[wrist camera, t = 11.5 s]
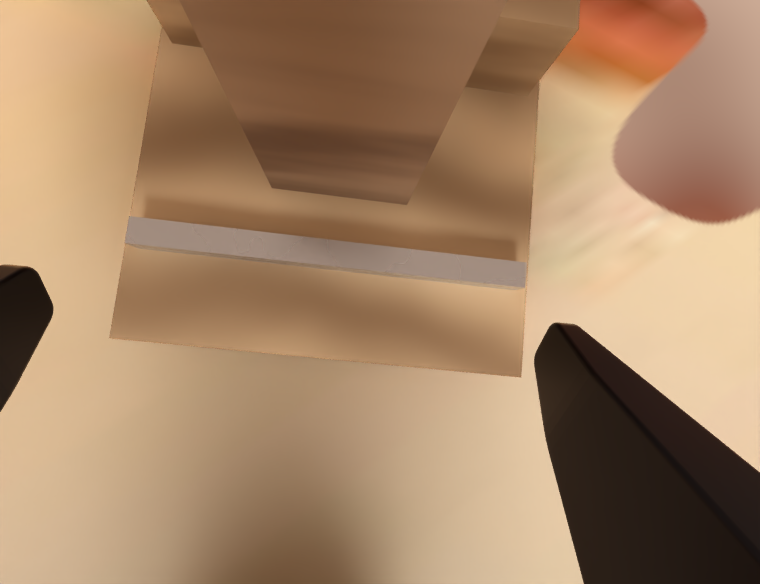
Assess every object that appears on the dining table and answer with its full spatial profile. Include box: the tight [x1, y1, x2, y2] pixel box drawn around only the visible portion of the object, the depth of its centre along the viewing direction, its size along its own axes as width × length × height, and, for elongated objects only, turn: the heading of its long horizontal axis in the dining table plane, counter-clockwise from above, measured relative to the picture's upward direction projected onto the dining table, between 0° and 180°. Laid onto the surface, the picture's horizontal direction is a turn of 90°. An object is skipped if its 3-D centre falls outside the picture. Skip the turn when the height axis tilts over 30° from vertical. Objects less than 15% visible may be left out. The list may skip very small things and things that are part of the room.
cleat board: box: [109, 0, 580, 377], centre depth 16 cm, size 16×16×6 cm
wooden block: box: [180, 0, 507, 205], centre depth 11 cm, size 6×6×13 cm
